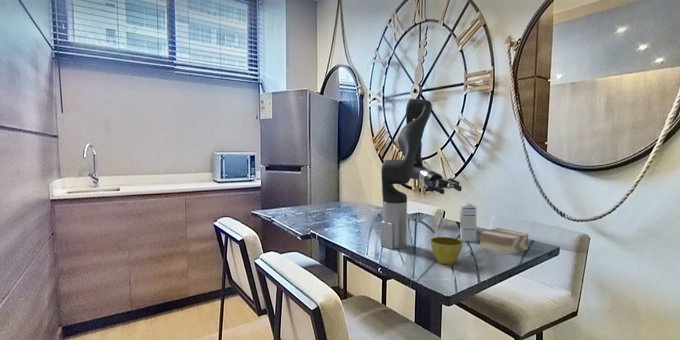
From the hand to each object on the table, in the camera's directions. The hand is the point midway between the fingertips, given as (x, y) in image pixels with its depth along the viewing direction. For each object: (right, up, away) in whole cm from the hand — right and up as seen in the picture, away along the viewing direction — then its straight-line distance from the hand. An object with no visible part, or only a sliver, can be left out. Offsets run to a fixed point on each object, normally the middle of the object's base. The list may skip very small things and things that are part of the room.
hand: (452, 190), depth 147 cm
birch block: (+15, -21, -14) cm, 30 cm away
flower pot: (-12, -22, -31) cm, 40 cm away
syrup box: (+5, -20, -3) cm, 21 cm away
